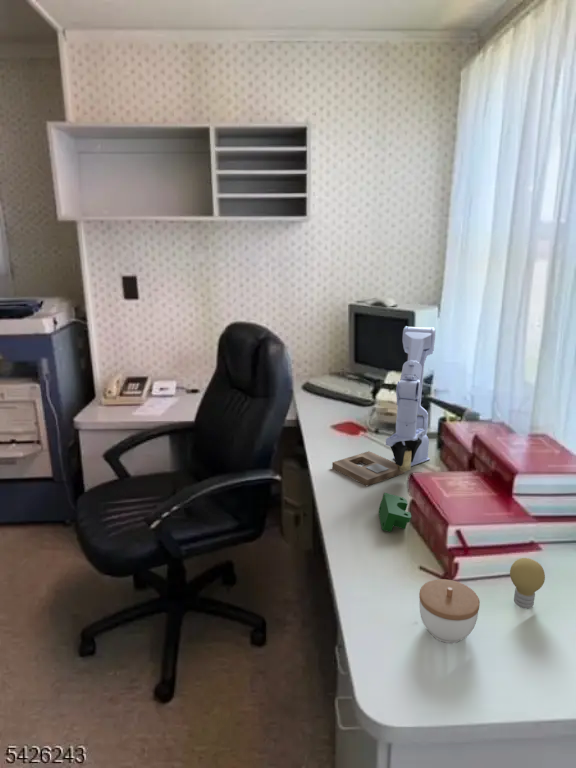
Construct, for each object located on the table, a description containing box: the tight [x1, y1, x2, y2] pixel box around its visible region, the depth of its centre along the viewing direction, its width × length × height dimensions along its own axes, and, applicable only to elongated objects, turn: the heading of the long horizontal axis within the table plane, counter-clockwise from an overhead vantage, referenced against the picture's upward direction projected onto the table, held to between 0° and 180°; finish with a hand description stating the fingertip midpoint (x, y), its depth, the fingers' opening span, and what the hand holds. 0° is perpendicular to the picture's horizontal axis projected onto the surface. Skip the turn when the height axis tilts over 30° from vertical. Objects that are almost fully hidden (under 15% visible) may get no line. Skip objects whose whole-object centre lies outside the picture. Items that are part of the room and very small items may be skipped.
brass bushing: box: [397, 448, 412, 472], centre depth 165 cm, size 4×4×6 cm
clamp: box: [378, 492, 412, 533], centre depth 142 cm, size 12×6×9 cm, turn 170°
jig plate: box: [331, 450, 406, 487], centre depth 174 cm, size 16×16×2 cm
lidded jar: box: [419, 578, 481, 644], centre depth 102 cm, size 11×11×9 cm
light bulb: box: [509, 557, 546, 610], centre depth 110 cm, size 6×6×10 cm
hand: (404, 462), depth 165 cm, fingers closed on brass bushing, 4 cm apart
